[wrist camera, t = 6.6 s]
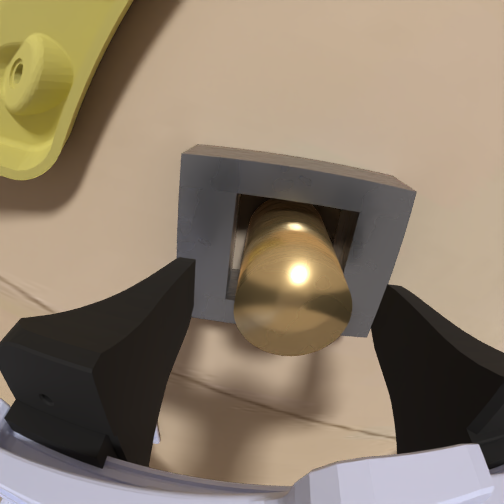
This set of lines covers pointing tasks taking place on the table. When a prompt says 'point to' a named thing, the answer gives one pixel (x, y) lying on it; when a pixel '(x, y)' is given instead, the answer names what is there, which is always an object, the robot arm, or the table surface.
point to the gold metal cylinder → (290, 282)
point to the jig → (293, 189)
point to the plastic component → (47, 75)
